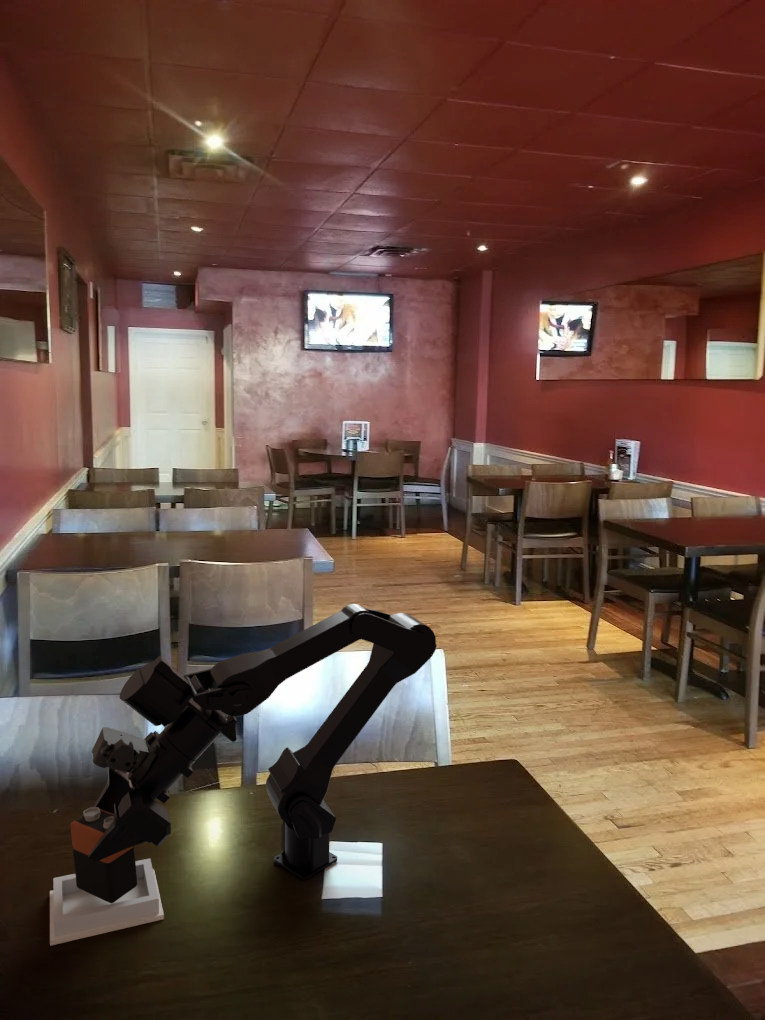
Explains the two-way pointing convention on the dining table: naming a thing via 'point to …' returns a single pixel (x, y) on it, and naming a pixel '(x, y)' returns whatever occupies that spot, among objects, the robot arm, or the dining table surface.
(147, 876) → the tray
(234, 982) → the dining table surface
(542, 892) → the dining table surface
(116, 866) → the battery
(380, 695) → the robot arm
